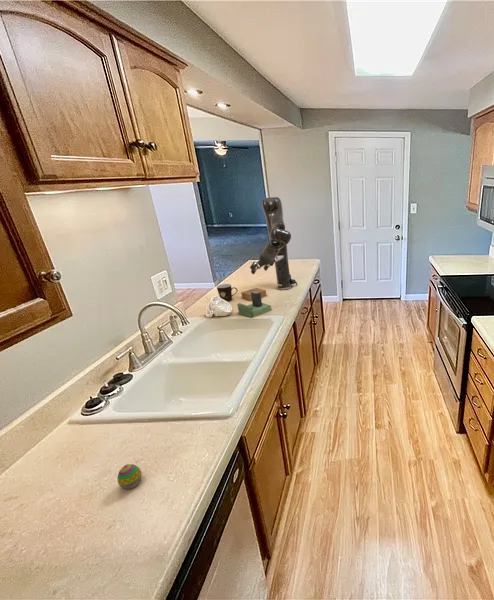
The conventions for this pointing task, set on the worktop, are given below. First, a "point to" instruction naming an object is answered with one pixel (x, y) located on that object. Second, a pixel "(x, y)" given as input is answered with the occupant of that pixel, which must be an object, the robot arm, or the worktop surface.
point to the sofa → (253, 309)
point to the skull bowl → (218, 307)
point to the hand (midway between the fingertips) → (258, 271)
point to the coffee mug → (225, 291)
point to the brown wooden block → (248, 293)
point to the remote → (256, 298)
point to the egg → (129, 476)
